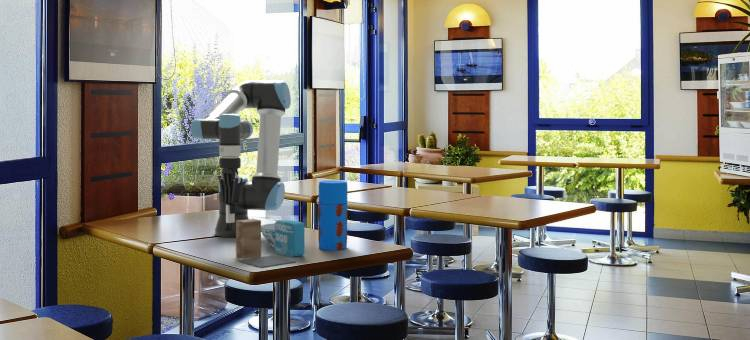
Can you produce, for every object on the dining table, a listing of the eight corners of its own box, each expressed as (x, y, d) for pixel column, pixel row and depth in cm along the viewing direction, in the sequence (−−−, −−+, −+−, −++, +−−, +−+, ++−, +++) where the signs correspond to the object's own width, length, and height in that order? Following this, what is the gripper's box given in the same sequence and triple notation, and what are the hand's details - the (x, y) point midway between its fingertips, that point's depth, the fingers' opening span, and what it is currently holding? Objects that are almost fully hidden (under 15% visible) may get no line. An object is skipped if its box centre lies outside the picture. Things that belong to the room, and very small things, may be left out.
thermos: (314, 246, 291) (314, 180, 289) (341, 244, 295) (341, 180, 293) (324, 251, 281) (324, 183, 279) (351, 249, 285) (351, 182, 283)
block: (236, 257, 268) (236, 220, 267) (253, 255, 273) (253, 218, 272) (244, 259, 265) (243, 222, 264) (261, 257, 269) (261, 220, 268)
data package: (274, 252, 278) (274, 220, 277) (284, 251, 281) (284, 218, 280) (294, 257, 269) (294, 223, 268) (304, 256, 272) (304, 222, 271)
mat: (237, 261, 261) (237, 260, 261) (271, 256, 271) (271, 255, 271) (261, 267, 251) (261, 266, 251) (295, 262, 260) (295, 261, 260)
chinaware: (263, 250, 282) (263, 229, 281) (258, 243, 296) (258, 223, 295) (303, 249, 286) (303, 228, 285) (296, 242, 300) (296, 222, 299)
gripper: (211, 156, 277) (211, 221, 279) (230, 158, 268) (231, 225, 269) (229, 155, 282) (229, 219, 284) (248, 157, 273) (249, 223, 274)
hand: (230, 222), depth 277 cm, fingers closed
